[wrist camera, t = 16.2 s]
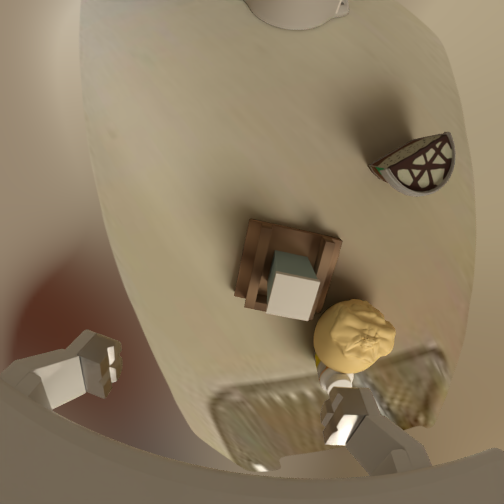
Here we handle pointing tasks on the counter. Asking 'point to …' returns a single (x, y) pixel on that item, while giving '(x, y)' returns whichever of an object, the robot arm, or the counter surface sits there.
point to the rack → (286, 240)
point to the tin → (291, 286)
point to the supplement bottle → (331, 376)
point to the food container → (418, 165)
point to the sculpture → (352, 336)
